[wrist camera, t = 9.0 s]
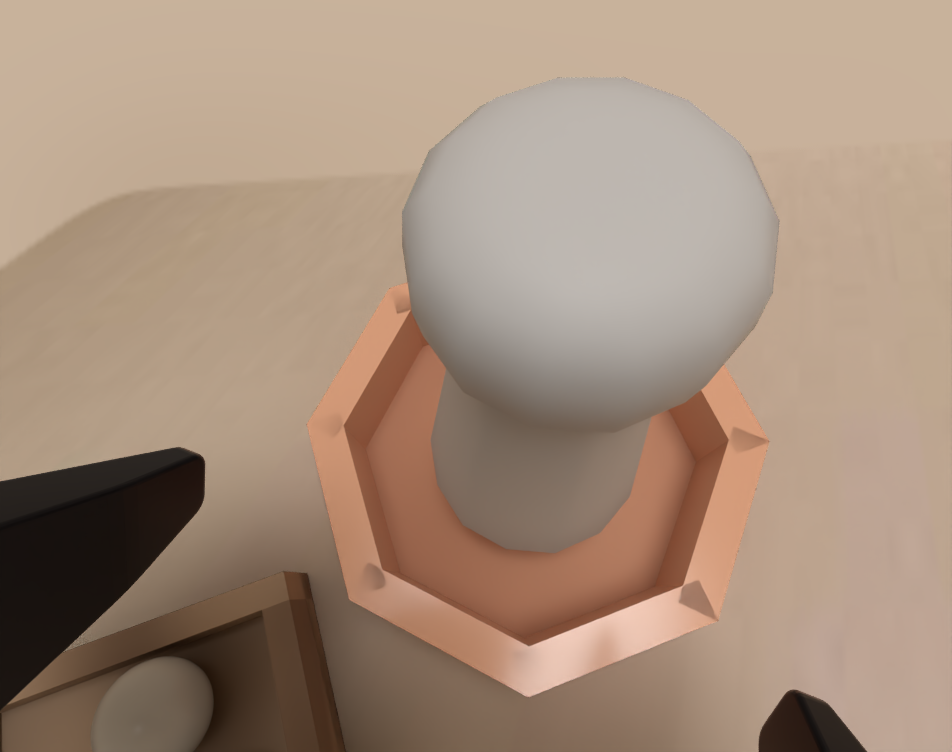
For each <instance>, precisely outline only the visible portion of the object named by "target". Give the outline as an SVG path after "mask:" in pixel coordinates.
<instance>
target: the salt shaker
mask: <svg viewBox="0 0 952 752" xmlns="http://www.w3.org/2000/svg"><path fill="white" fill-rule="evenodd" d="M778 232H779V219H778V216H777V214H776V212H775V210H774V207H773V205H772V203H771V201H770V198H769V196H768V194H767V192H766V189H765V187H764V185H763V183H762V180H761V178H760V176H759V174H758V171H757V169H756V167H755V165H754V163H753V160H752V158H751V156H750V155H749V153H748V152H747V151H746V150H745V148H744V147H743V146H742V144H741V143H740V142H739V141H738V140H737V139H736V138H734V137H733V136H732V135H731V134H729V133H728V132H727V131H726V130H725V129H723V128H722V127H721V126H719V125H718V124H717V123H716V122H715V121H713V120H712V119H711V118H710V117H709V116H707V115H706V114H705V113H704V112H702V111H701V110H700V109H699V108H697V107H696V106H695V105H694V104H693V103H691V102H690V101H689V100H687V99H684V98H681V97H678V96H676V95H673V94H670V93H667V92H664V91H661V90H658V89H656V88H653V87H650V86H647V85H644V84H642V83H639V82H636V81H633V80H630V79H627V78H556V79H552V80H549V81H547V82H544V83H540V84H537V85H534V86H531V87H528V88H525V89H522V90H519V91H515V92H512V93H509V94H506V95H503V96H500V97H497V98H495V99H493V100H492V101H490V102H488V103H486V104H484V105H482V106H480V107H479V108H478V109H477V110H476V111H474V112H473V113H472V114H471V115H470V116H469V117H468V118H466V119H465V120H464V121H463V122H462V123H461V124H459V125H458V126H457V127H456V128H455V129H454V130H453V131H451V132H450V133H449V134H448V135H447V136H446V137H445V138H443V139H442V140H441V141H440V142H439V143H438V144H436V145H435V146H434V147H433V148H432V149H431V150H430V151H429V152H428V154H427V157H426V159H425V161H424V163H423V166H422V168H421V170H420V173H419V175H418V177H417V179H416V182H415V184H414V186H413V188H412V191H411V193H410V195H409V197H408V200H407V202H406V204H405V207H404V209H403V211H402V247H403V254H404V261H405V268H406V275H407V282H408V289H409V296H410V303H411V310H412V314H413V316H414V318H415V320H416V322H417V325H418V327H419V329H420V331H421V333H422V335H423V337H424V338H425V340H426V341H427V342H428V344H429V345H430V346H431V348H432V349H433V351H434V352H435V353H436V355H437V356H438V358H439V359H440V360H441V362H442V363H443V365H444V366H445V367H446V371H445V376H444V381H443V385H442V390H441V394H440V399H439V403H438V408H437V413H436V417H435V422H434V426H433V431H432V435H431V440H430V441H431V447H432V454H433V460H434V466H435V473H436V479H437V485H438V487H439V488H440V490H441V491H442V493H443V495H444V496H445V498H446V499H447V501H448V503H449V504H450V506H451V507H452V509H453V510H454V512H455V514H456V515H457V517H458V518H459V520H460V522H461V523H462V525H464V526H465V527H467V528H469V529H471V530H473V531H474V532H476V533H478V534H480V535H482V536H483V537H485V538H487V539H489V540H491V541H492V542H494V543H496V544H498V545H500V546H501V547H503V548H505V549H511V550H523V551H534V552H546V553H557V552H559V551H561V550H563V549H566V548H568V547H570V546H572V545H575V544H577V543H579V542H581V541H584V540H586V539H588V538H590V537H592V536H595V535H597V534H599V533H601V531H602V530H603V529H604V528H605V526H606V525H607V524H608V523H609V522H610V520H611V519H612V518H613V517H614V515H615V514H616V513H617V512H618V510H619V509H620V508H621V507H622V506H623V504H624V503H625V502H626V501H627V499H628V498H629V497H630V494H631V490H632V487H633V483H634V479H635V476H636V472H637V468H638V465H639V461H640V457H641V454H642V450H643V447H644V443H645V439H646V436H647V432H648V428H649V425H650V421H651V417H653V416H655V415H657V414H660V413H662V412H664V411H667V410H669V409H671V408H674V407H676V406H678V405H681V404H683V403H685V402H686V401H688V400H689V399H690V398H691V397H693V396H694V395H695V394H696V393H698V392H699V391H700V390H701V389H703V388H704V387H705V386H706V385H707V384H708V383H709V382H710V380H711V379H712V378H713V377H714V376H715V374H716V373H717V372H718V371H719V370H720V368H721V367H722V366H723V365H724V364H725V362H726V361H727V360H728V359H729V358H730V356H731V355H732V354H733V353H734V352H735V350H736V349H737V348H738V347H739V346H740V344H741V343H742V342H743V341H744V340H745V338H746V337H747V336H748V335H749V334H750V332H751V331H752V330H753V329H754V327H755V326H756V324H757V322H758V320H759V318H760V316H761V314H762V312H763V310H764V308H765V306H766V304H767V303H768V301H769V299H770V297H771V295H772V293H773V283H774V273H775V263H776V252H777V242H778Z"/></svg>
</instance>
